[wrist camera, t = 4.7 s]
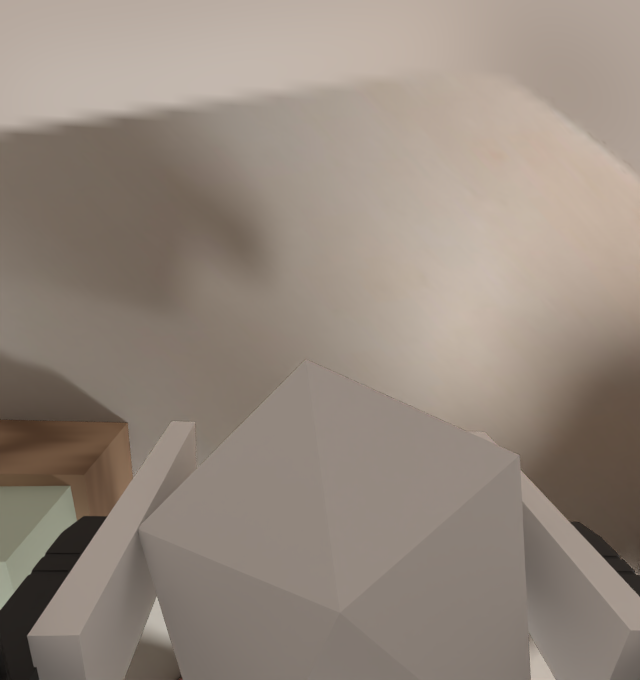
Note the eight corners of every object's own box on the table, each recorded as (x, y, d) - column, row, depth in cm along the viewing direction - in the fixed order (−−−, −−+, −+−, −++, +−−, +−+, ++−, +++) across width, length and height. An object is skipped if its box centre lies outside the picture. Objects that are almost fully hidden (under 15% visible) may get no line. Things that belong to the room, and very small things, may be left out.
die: (260, 289, 12) (-95, 636, 5) (579, 327, 8) (730, 1599, 2) (304, 442, 17) (151, 717, 10) (513, 507, 13) (483, 992, 7)
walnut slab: (130, 419, 21) (84, 474, 17) (143, 562, 25) (108, 642, 20) (-73, 414, 20) (-183, 471, 16) (-31, 564, 24) (-112, 648, 19)
